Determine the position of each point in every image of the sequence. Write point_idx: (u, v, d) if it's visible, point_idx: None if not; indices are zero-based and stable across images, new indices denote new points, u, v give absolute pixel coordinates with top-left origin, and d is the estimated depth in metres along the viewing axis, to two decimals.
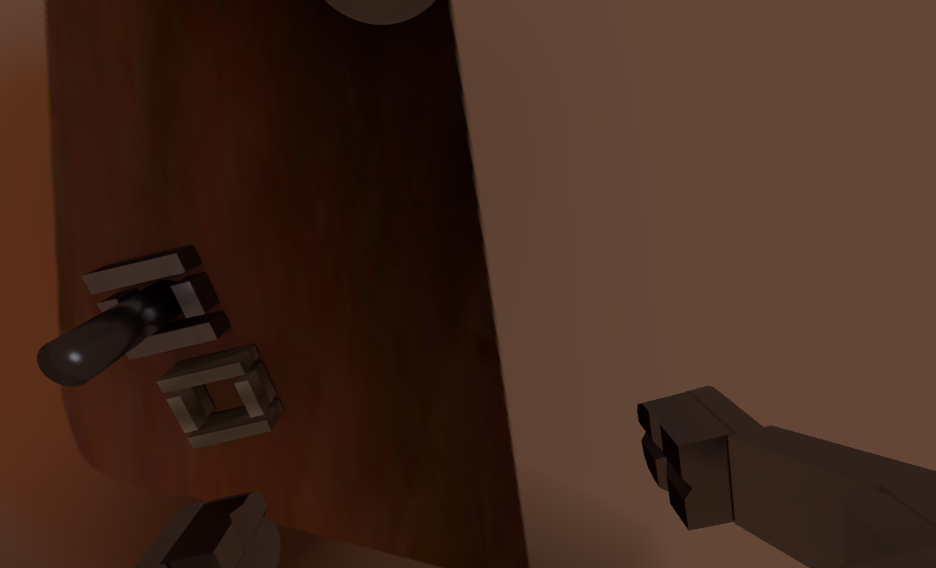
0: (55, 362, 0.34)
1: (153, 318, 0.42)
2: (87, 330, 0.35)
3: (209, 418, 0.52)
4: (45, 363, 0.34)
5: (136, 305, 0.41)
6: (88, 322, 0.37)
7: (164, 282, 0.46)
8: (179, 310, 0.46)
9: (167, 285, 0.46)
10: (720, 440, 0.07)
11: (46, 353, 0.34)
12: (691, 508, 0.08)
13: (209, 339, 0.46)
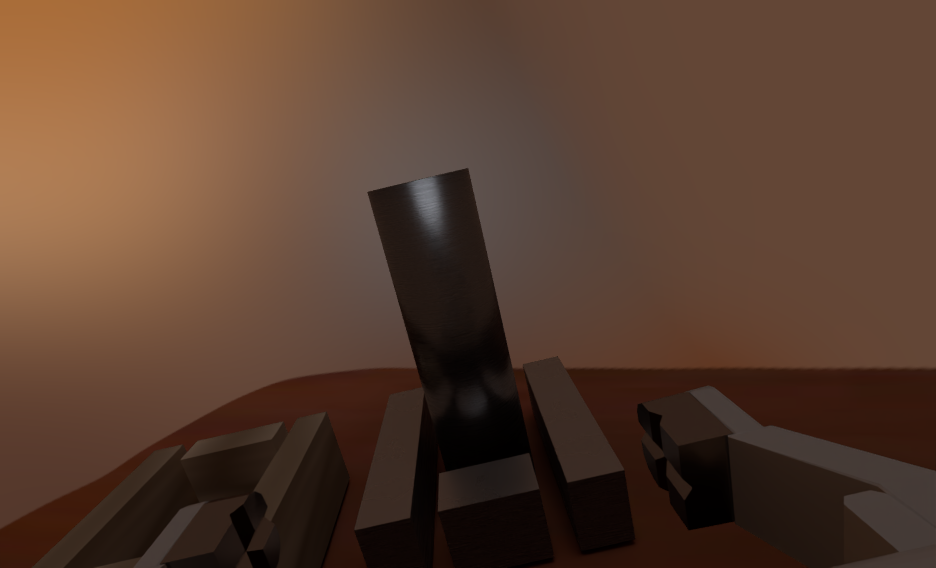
0: None
1: (459, 386, 0.17)
2: (472, 224, 0.17)
3: None
4: None
5: (499, 362, 0.18)
6: (486, 254, 0.18)
7: None
8: None
9: None
10: (720, 440, 0.07)
11: None
12: (691, 508, 0.08)
13: (363, 512, 0.16)
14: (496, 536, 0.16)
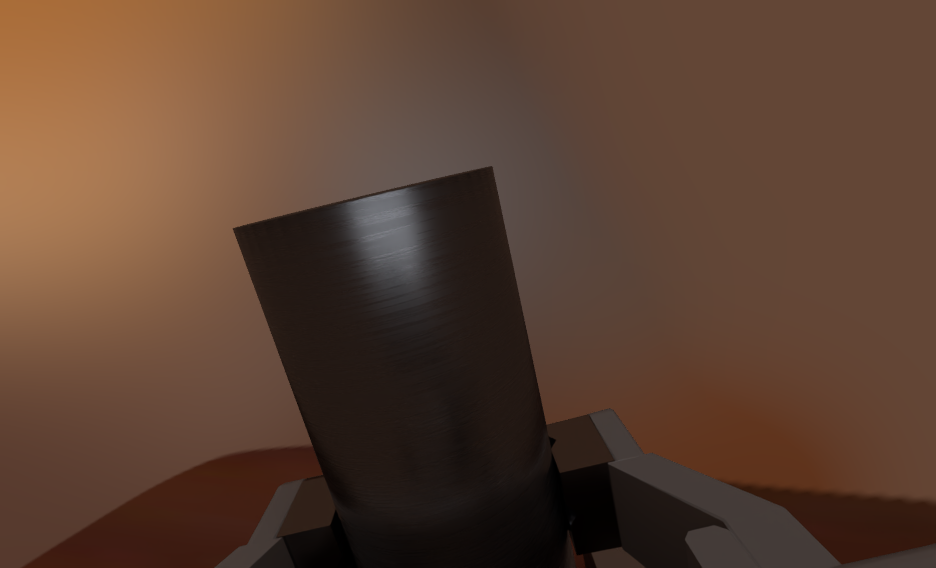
0: (393, 189, 0.08)
1: None
2: (505, 311, 0.06)
3: None
4: (403, 186, 0.08)
5: None
6: (533, 367, 0.08)
7: None
8: None
9: None
10: (602, 467, 0.07)
11: None
12: (578, 534, 0.08)
13: None
14: None
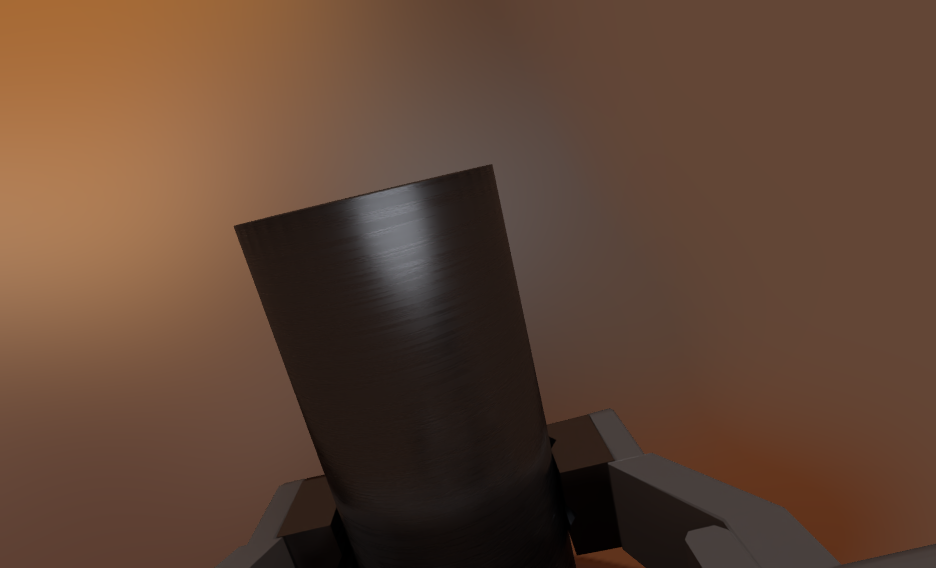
0: (393, 187, 0.08)
1: None
2: (505, 309, 0.06)
3: None
4: None
5: None
6: (533, 365, 0.08)
7: None
8: None
9: None
10: (602, 467, 0.07)
11: (443, 175, 0.08)
12: (578, 534, 0.08)
13: None
14: None
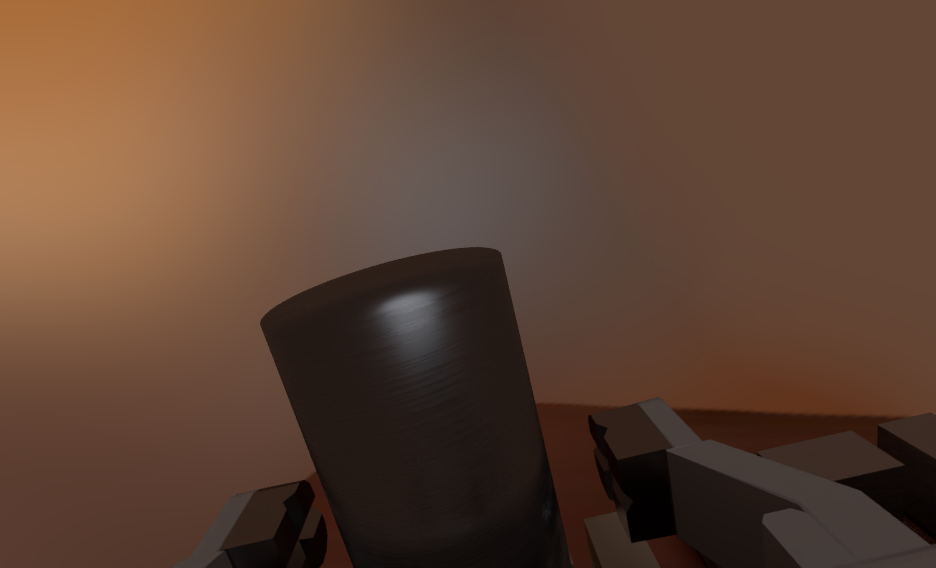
0: (407, 269, 0.08)
1: None
2: (516, 396, 0.07)
3: None
4: (416, 259, 0.09)
5: None
6: (542, 437, 0.08)
7: None
8: None
9: None
10: (659, 454, 0.07)
11: (453, 254, 0.08)
12: (632, 521, 0.08)
13: None
14: None
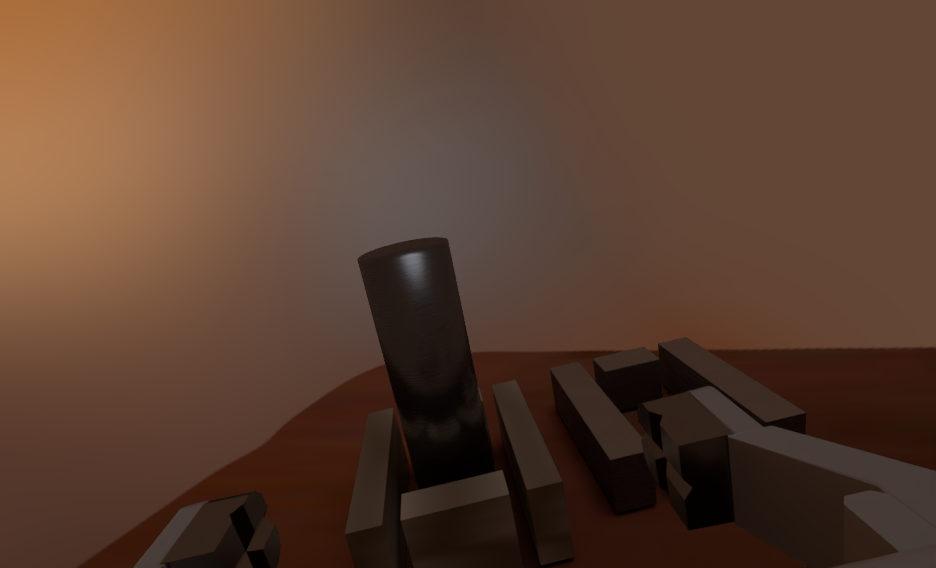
0: (410, 245, 0.20)
1: (437, 431, 0.20)
2: (451, 291, 0.19)
3: (405, 461, 0.26)
4: (412, 241, 0.21)
5: (472, 408, 0.20)
6: (462, 313, 0.20)
7: None
8: None
9: None
10: (720, 440, 0.07)
11: (429, 240, 0.20)
12: (691, 508, 0.08)
13: (607, 448, 0.21)
14: None
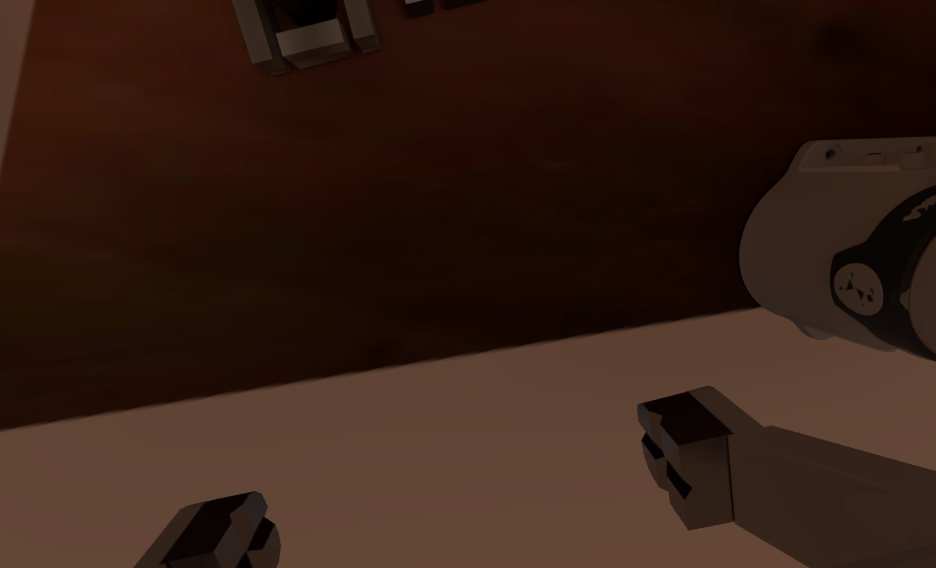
0: None
1: (291, 0, 0.29)
2: None
3: None
4: None
5: None
6: None
7: (334, 2, 0.34)
8: (296, 19, 0.33)
9: (331, 8, 0.33)
10: (720, 440, 0.07)
11: None
12: (691, 508, 0.08)
13: None
14: None
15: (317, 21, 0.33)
